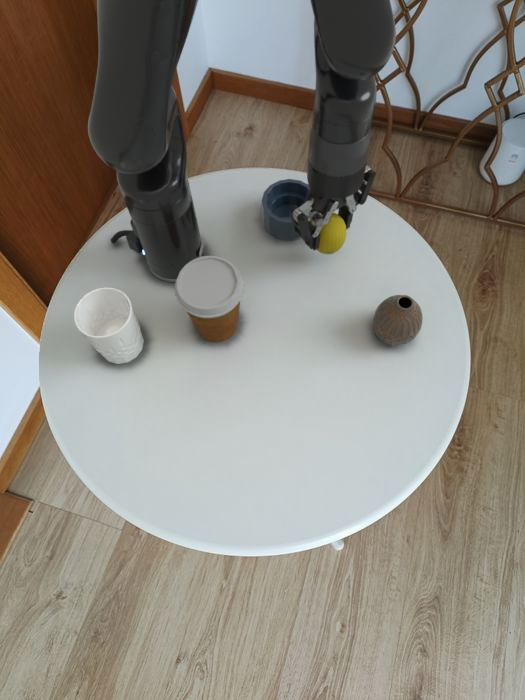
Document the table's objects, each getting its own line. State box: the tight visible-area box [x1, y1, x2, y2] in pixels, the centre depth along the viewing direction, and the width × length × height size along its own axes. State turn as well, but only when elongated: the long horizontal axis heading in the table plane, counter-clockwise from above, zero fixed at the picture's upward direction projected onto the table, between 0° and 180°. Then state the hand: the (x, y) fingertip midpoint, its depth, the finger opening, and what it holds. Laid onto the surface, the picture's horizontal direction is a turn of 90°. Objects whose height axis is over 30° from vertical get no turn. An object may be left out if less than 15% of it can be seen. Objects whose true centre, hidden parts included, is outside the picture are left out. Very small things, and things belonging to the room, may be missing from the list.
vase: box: [372, 294, 424, 347], centre depth 77 cm, size 7×7×9 cm
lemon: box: [313, 212, 348, 255], centre depth 82 cm, size 6×6×8 cm
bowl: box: [261, 178, 314, 241], centre depth 89 cm, size 9×9×5 cm
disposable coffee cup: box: [174, 255, 245, 343], centre depth 77 cm, size 10×10×12 cm
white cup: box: [73, 286, 145, 365], centre depth 77 cm, size 8×8×10 cm
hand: (327, 235), depth 83 cm, fingers closed on lemon, 5 cm apart
